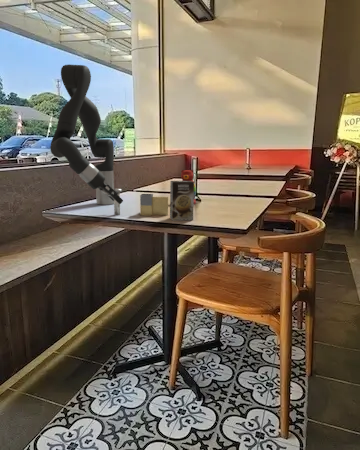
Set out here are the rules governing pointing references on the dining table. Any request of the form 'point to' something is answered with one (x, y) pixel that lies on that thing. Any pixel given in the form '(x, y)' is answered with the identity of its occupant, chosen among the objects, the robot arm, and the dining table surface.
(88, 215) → the dining table surface
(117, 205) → the pin
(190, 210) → the coffee box
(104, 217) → the dining table surface
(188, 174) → the stacking bear
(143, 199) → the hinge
